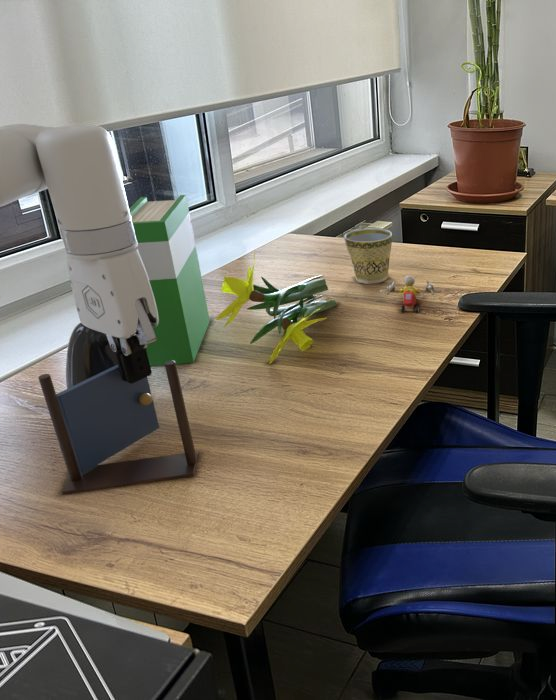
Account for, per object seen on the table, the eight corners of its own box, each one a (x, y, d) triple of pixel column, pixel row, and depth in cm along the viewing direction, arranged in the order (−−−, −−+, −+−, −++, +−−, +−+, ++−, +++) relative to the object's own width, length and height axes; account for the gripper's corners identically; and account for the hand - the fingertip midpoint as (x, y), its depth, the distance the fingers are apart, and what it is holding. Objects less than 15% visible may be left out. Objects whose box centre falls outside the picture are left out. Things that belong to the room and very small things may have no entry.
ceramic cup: (376, 291, 145) (373, 244, 141) (338, 283, 150) (334, 237, 146) (411, 272, 156) (409, 228, 151) (375, 265, 160) (372, 222, 156)
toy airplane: (408, 318, 132) (406, 286, 129) (378, 306, 138) (376, 274, 135) (444, 305, 138) (443, 274, 135) (414, 293, 144) (413, 263, 141)
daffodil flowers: (375, 311, 138) (318, 340, 104) (314, 348, 141) (239, 389, 106) (329, 236, 136) (255, 241, 102) (268, 275, 139) (177, 293, 105)
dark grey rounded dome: (100, 445, 95) (71, 342, 88) (63, 421, 101) (33, 323, 94) (169, 413, 102) (146, 316, 96) (130, 393, 108) (107, 300, 101)
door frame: (63, 497, 85) (27, 387, 78) (74, 473, 89) (41, 367, 83) (196, 478, 88) (172, 371, 81) (200, 456, 92) (178, 353, 86)
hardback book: (168, 325, 131) (140, 197, 121) (210, 322, 132) (186, 194, 122) (146, 368, 115) (112, 224, 105) (194, 364, 116) (164, 221, 106)
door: (92, 477, 86) (68, 398, 82) (79, 472, 87) (55, 394, 83) (168, 430, 96) (151, 357, 91) (155, 426, 97) (138, 354, 92)
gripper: (32, 238, 82) (75, 376, 90) (108, 256, 75) (148, 405, 83) (92, 222, 88) (128, 354, 96) (168, 237, 81) (200, 379, 89)
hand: (137, 377), depth 90 cm, fingers closed
